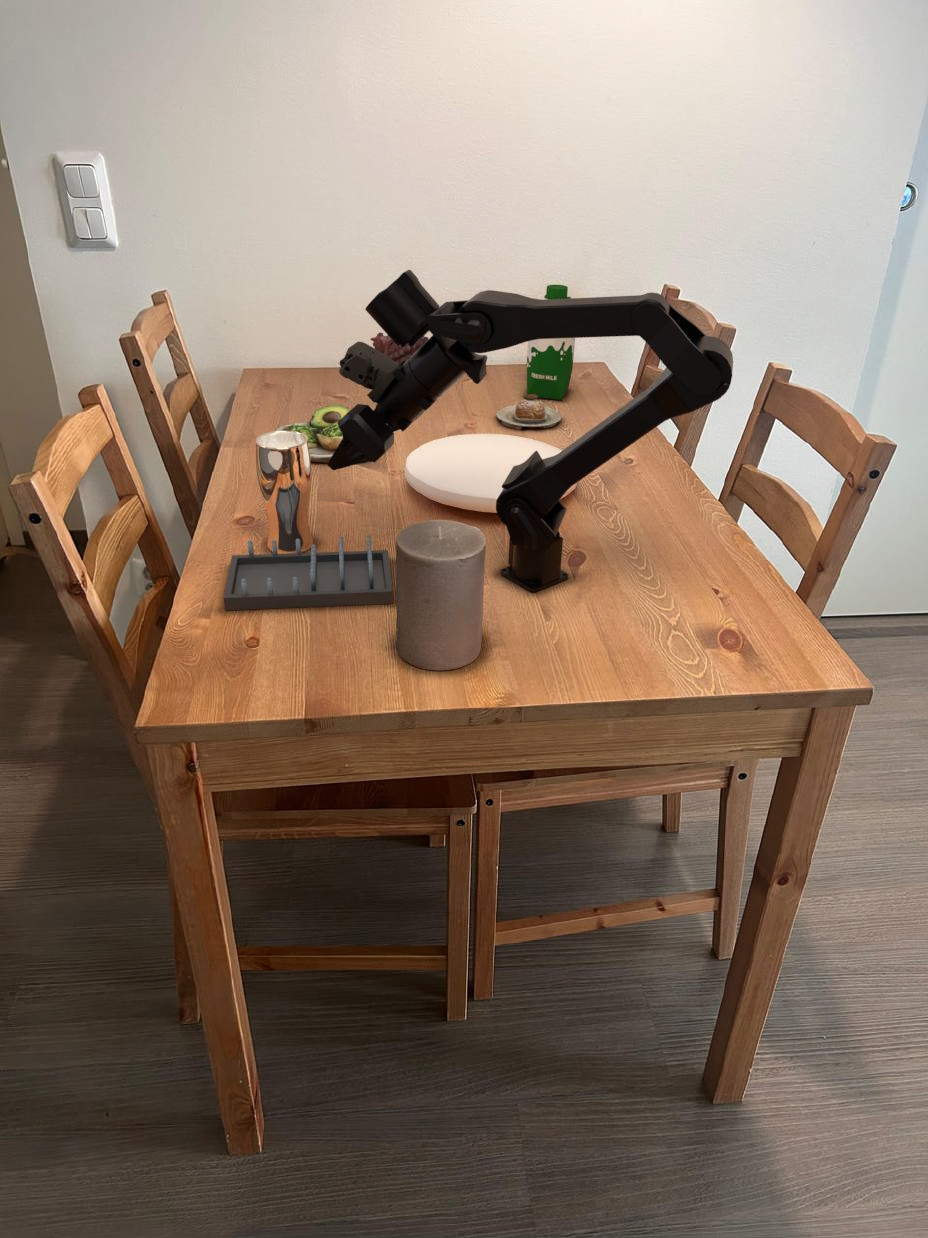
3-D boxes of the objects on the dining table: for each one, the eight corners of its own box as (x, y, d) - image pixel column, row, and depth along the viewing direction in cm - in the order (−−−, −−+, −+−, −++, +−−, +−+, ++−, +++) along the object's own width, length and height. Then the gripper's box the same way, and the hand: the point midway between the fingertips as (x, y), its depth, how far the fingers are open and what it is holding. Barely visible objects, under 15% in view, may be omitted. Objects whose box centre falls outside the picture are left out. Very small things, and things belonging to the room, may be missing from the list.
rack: (388, 561, 122) (387, 527, 120) (392, 603, 113) (392, 567, 110) (233, 567, 120) (229, 532, 117) (225, 610, 111) (220, 573, 108)
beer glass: (258, 538, 127) (247, 433, 119) (307, 530, 130) (300, 426, 122) (271, 560, 122) (261, 451, 114) (322, 551, 124) (316, 444, 117)
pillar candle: (378, 646, 105) (375, 525, 97) (441, 616, 111) (443, 500, 103) (437, 682, 99) (438, 557, 91) (500, 648, 105) (506, 528, 97)
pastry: (558, 434, 165) (560, 409, 163) (491, 429, 167) (492, 404, 164) (563, 412, 176) (565, 388, 173) (500, 408, 177) (501, 384, 175)
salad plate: (408, 456, 155) (408, 429, 152) (309, 475, 146) (307, 448, 144) (358, 421, 169) (357, 396, 166) (264, 437, 160) (262, 411, 158)
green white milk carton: (573, 389, 188) (582, 286, 177) (564, 402, 180) (573, 295, 170) (531, 384, 190) (537, 282, 179) (520, 397, 182) (526, 291, 172)
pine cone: (441, 364, 201) (458, 330, 193) (444, 398, 196) (461, 365, 188) (362, 345, 195) (376, 309, 187) (363, 380, 190) (378, 345, 182)
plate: (429, 421, 155) (588, 436, 151) (427, 458, 158) (583, 475, 154) (383, 465, 130) (572, 485, 126) (382, 509, 133) (567, 530, 129)
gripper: (404, 305, 116) (327, 384, 124) (350, 342, 101) (266, 430, 109) (464, 373, 118) (384, 447, 126) (420, 420, 103) (333, 500, 111)
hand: (344, 454), depth 118 cm, fingers open, 9 cm apart
